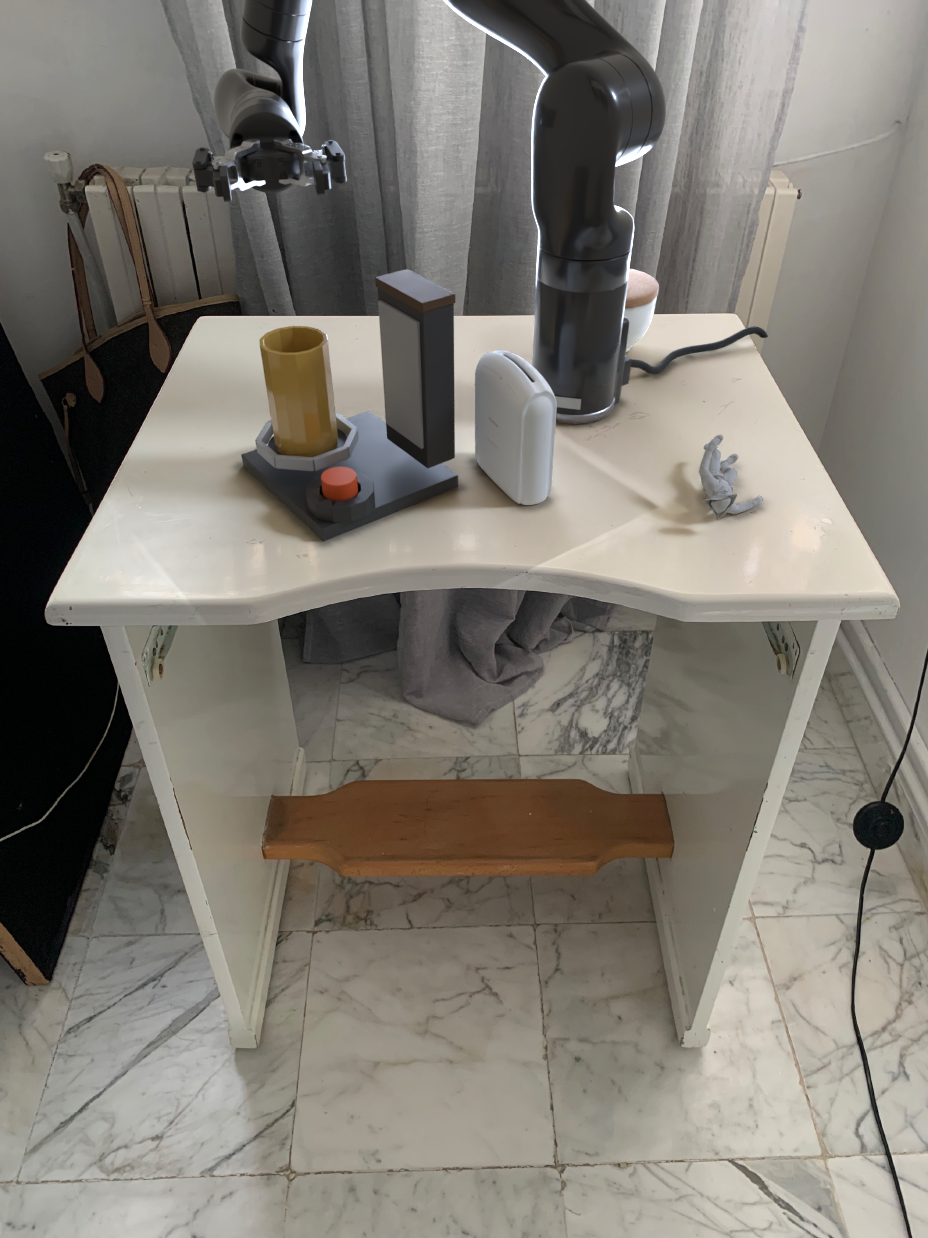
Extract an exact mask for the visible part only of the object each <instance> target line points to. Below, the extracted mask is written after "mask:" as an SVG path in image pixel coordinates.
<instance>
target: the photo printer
mask: <svg viewBox="0 0 928 1238" xmlns="http://www.w3.org/2000/svg"><path fill="white" fill-rule="evenodd" d="M556 411H557V402H556V398H555V396H554V393H553V391H552V389H551V388H550V386H549V384H548V383H547V382H546V380H545V379H544V378H543V376H542V375H541V374H540V373H539V372H538V371H537V370H536V369H535V368H534V367H533V366H532V363H529V361H527V360H526V359H525V358H523V357H521V356H520V355H518V354H516V353H514V352H511V351H508V350H504V349H496V350H494V351H489V352H485V353H484V354H483V355H482V356H481V357H480V359H479V360H478V362H477V364H476V368H475V372H474V454H475V460H476V463H477V464H478V466H479V467H480V468H481V470H483V472H484V473H485V474H486V475H487V476H488V477H489V478H490V479H491V480H492V481H493V482H494V483H495V484H496V486H498V488H500V490H502V491H503V492H504V494H506V495H507V496H508V497H509V498H510V499H511V500H512V501H514V502H515V503H516V504H520V505H522V506H533V505H537V504H541V503H542V502H544V501H545V500H546V499H548V496H550V495H551V493H552V488H553V487H552V486H553V469H554V456H555V455H554V454H555V439H556V425H557V424H556V423H557V422H556Z"/></svg>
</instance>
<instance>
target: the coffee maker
mask: <svg viewBox="0 0 928 1238" xmlns="http://www.w3.org/2000/svg"><path fill="white" fill-rule="evenodd" d="M374 281H375V287H376V288H377V304H378V319H379V321H378V323H379V335H380V351H381V352H380V353H381V369H382V381H383V382H382V383H383V398H384V399H383V400H384V411H385V412H384V413H385V416H384V417H385V423H386V430H387V439H388V440H390V441H391V442H392V443H394V444H395V445H396V446H398V447H399V448H401V449H402V450H403V451H405V452H406V453H407V454H409V455H410V456H411V457H413V458H414V459H415V460H417V461H418V462H419V463H421V464H422V465H424V466H425V467H426V468H431V467H433V466H436V465H438V464H441V463H442V464H444V463H445V462H448V461H451V460H454V459H456V433H455V431H456V430H455V429H456V427H455V425H456V423H455V422H456V421H455V418H456V417H455V415H456V414H455V316H454V315H455V307H454V304H456V293H454V292H453V291H451V290H449V289H447V288H445V287H443V286H441V285H439V284H437V283H435V282H433V281H432V280H430V279H427V278H426V277H424V276H421V274H418V273H416V272H414V271H413V270H410V269H408V268H406V269H401V270H398V271H394V272H390V273H386V274H383V275H379V276H375V277H374ZM335 414H336V424H337V428H338V429H337V433H338V444H337V446H336V448H335V449H334V450H332V451H329V452H326V453H323V454H321V455H318V456H315V457H301V456H288V455H282V454H281V453H279V452H278V450H277V449H276V445H275V440H274V434H273V427H272V421H271V419H270V420H268V421H267V422H265V423H264V426H263V427H262V429H261V430H260V431H259V433H258V435H257V437H256V438H255V441H254V443H255V448H256V449H257V452H258V453H259V454H260V455H261V456H262V457H263V458H264V459H265V460H266V461H268V462H269V463H270V464H271V465H272V466H273V467H274V468H277V469H289V470H302V471H314V470H315V471H317V470H320V469H323V468H326V467H328V466H331V465H334V464H337V463H339V462H342V461H345V460H348V458H350V457H351V455H352V452H353V450H354V448H355V446H356V444H357V442H358V429H357V427H356V426H354V425H353V424H352V423H350V422H349V421H348V420H346V419H347V418H345V417H344V416H342V414H340V413H337V412H335ZM339 429H340V430H339ZM346 435H347V436H348V438H347V436H346Z"/></svg>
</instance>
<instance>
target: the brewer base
mask: <svg viewBox="0 0 928 1238" xmlns="http://www.w3.org/2000/svg"><path fill="white" fill-rule="evenodd" d="M345 419H346V420H348V421H349V422H350V423H352V424H353V425H354V426H356V427H357V429H358V442H357V444H356V446H355V448H354V450H353V452H352V455H351V457H350V458H348V460H345V461H342V462H339V463H337V464H334V465H331V466H328V467H326V468H323V469H320V470H317V471H315V470H314V471H302V470H289V469H277V468H274V467H273V466H272V465H271V464H270V463H269V462H268V461H266V460H265V459H264V458H263V457H262V456H261V455H260V454H259V453H258V452H257V448H256V449H253V450H250V451H246V452H244V453H242V454H241V455H240V456H241V462H242V466H243V468H245V469H246V470H247V471H248V472H249V473H250V474H251V475H252V476H253V477H254V478H255V479H256V480H257V481H258V482H259V483H261V484H262V486H263V487H265V488H266V489H267V490H268V491H269V492H270V493H271V494H272V495H273V496H274V497H275V498H276V499H278V501H279V502H281V503H282V504H283V505H284V506H285V507H286V508H287V509H288V510H289V511H290V512H291V513H292V514H293V515H295V516H296V517H297V519H299V520H300V521H301V522H302V523H303V524H304V525H305V526H306V527H307V528H308V529H309V530H310V531H311V532H313V533H314V535H316V536H317V537H318V538H319V539H320V540H321V541H322V542H326V541H329V540H332V539H334V538H337V537H339V536H342V535H343V534H346V533H349V532H352V531H353V530H356V529H358V528H361V527H363V526H366V525H368V524H371V523H374V522H375V521H378V520H381V519H383V518H386V517H388V516H390V515H392V514H393V515H394V514H396V513H398V512H400V511H402V510H403V511H404V510H406V509H408V508H411V507H412V506H416V505H417V504H420V503H422V502H426V501H428V500H429V499H432V498H434V497H437V496H440V495H442V494H444V493H448V492H450V491H452V490H454V489H456V488H459V474H458V473H456V472H454V471H453V470H452V469H450V468H449V467H448V466H446V465H445V464H444V463H441V464H438V465H436V466H433V467H431V468H426V467H425V466H424V465H422V464H421V463H419V462H418V461H417V460H415V459H414V458H413V457H411V456H410V455H409V454H407V453H406V452H405V451H403V450H402V449H401V448H399V447H398V446H396V445H395V444H394V443H392V442H391V441H390V440H388V439H387V430H386V421H384V420H382V419H381V417H378V416H377V415H376V414H374V413H373V412H371V411H370V410H367V411H365V412H362V413H359V414H356V415H353V416H350V417H346V418H345ZM337 429H338V428H337ZM339 430H340V429H339ZM346 436H347V435H346ZM347 438H348V436H347ZM334 467H347V468H350V469H352V470H354V471H355V472H356V475H357V485H358V493H357V495H356V496H355V497H352V498H350V499H347V500H340V501H334V500H330V499H326V498H325V497H324V496H323V492H322V483H321V475H322V473H323V472H324V471H326V470H328V469H330V468H334Z"/></svg>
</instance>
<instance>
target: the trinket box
mask: <svg viewBox="0 0 928 1238" xmlns="http://www.w3.org/2000/svg"><path fill="white" fill-rule="evenodd" d="M659 289H660V285H659V282H658V280H657V279H656V278H655V277H654V276H652V275H650V274H648V273H646V272H643V271H640V270H637V269H634V268H629V275H628V284H627V292H626V301H625V309H624V317H626V318H628V320H629V331H628V339H627V347H626V353H627V352H629V351H630V350H631V349H632V347H633V346H634V345H636V344H637V343H639V341H640V340H641V339H642V338H643V337H644V336H645V335H646V333H647V331H648V329H649V327H650V325H651V323H652V320H653V317H654V314H655V309H656V303H657V297H658V295H659V291H660V290H659Z"/></svg>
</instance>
